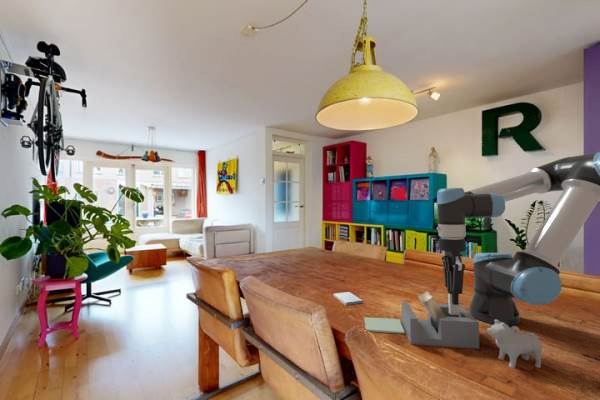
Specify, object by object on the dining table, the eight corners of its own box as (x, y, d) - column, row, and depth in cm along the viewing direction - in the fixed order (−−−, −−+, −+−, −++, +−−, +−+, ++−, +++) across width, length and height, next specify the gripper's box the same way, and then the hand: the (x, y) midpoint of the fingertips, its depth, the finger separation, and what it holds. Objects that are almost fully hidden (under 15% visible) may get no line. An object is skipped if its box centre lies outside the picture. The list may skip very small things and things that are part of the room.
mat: (399, 320, 100) (399, 319, 100) (404, 333, 90) (404, 332, 90) (364, 318, 102) (364, 317, 102) (365, 331, 92) (365, 329, 92)
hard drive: (363, 300, 118) (349, 291, 130) (345, 302, 116) (333, 293, 128) (363, 304, 118) (349, 295, 130) (345, 306, 116) (333, 296, 128)
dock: (460, 327, 94) (459, 304, 94) (479, 348, 80) (478, 322, 81) (401, 324, 97) (401, 302, 97) (410, 344, 84) (410, 318, 84)
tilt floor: (440, 330, 91) (444, 328, 91) (445, 338, 86) (450, 335, 86) (417, 296, 92) (421, 294, 92) (421, 301, 87) (425, 299, 87)
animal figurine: (482, 357, 76) (481, 317, 76) (529, 356, 76) (528, 316, 77) (496, 368, 71) (495, 326, 71) (546, 367, 71) (545, 325, 71)
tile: (441, 328, 92) (449, 323, 91) (447, 336, 86) (456, 331, 85) (419, 295, 93) (427, 291, 92) (424, 302, 87) (432, 297, 86)
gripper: (432, 235, 96) (435, 305, 95) (445, 240, 83) (448, 321, 82) (456, 235, 94) (459, 306, 94) (473, 240, 81) (476, 323, 81)
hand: (454, 313), depth 88 cm, fingers closed
